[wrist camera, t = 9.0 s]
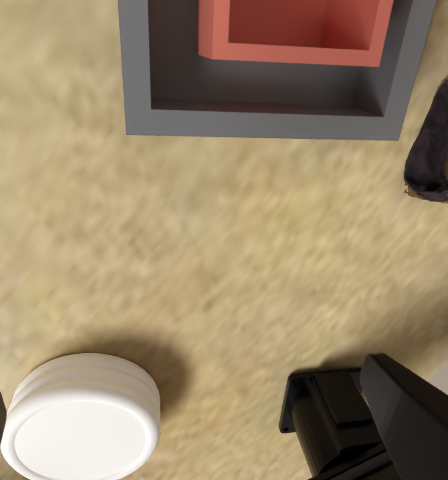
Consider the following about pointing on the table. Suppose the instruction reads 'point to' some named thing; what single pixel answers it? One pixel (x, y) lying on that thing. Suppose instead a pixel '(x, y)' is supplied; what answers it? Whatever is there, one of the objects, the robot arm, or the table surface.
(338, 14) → the small crate
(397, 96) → the big crate
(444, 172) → the bread roll
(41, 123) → the table surface
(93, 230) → the table surface
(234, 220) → the table surface
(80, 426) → the white round container
